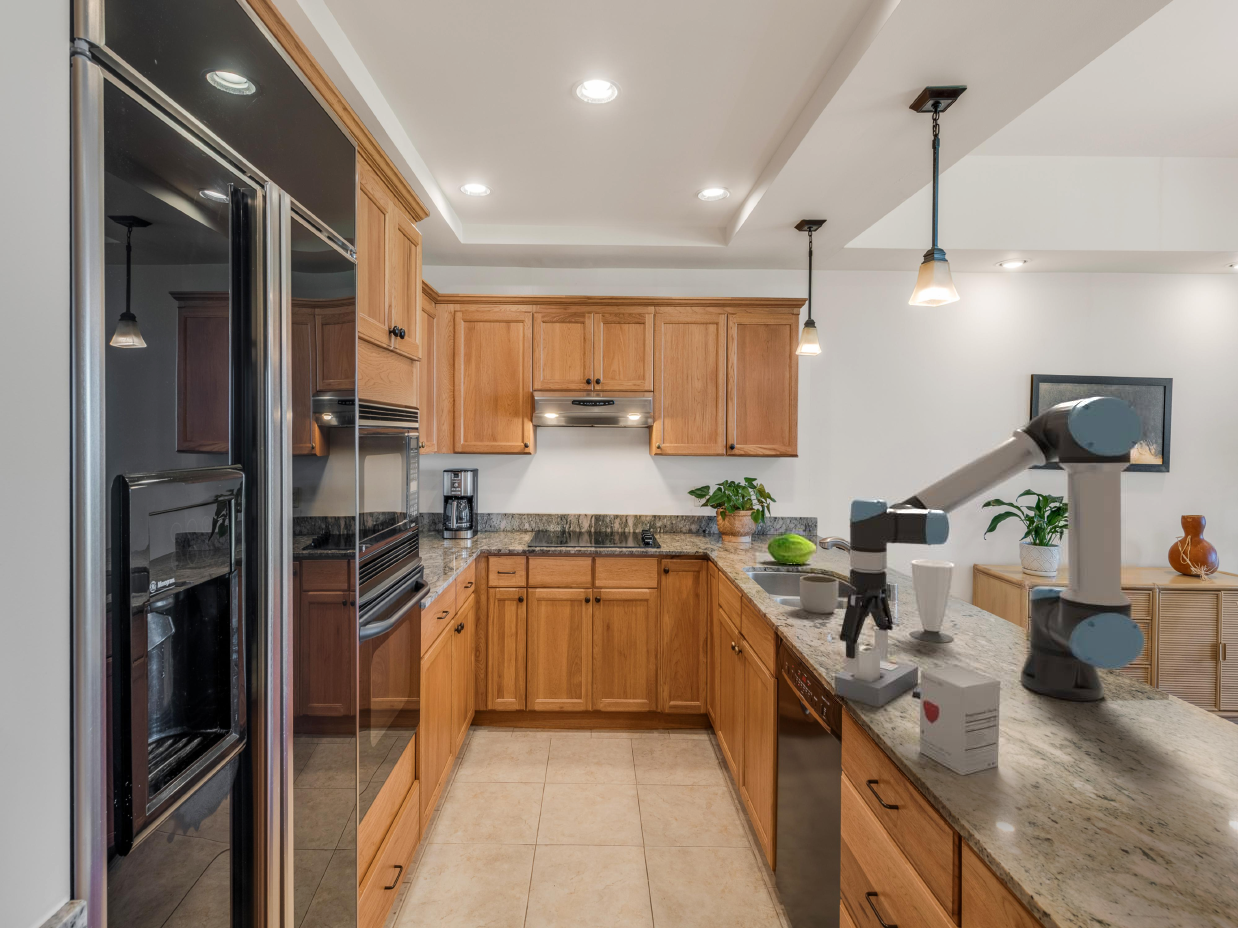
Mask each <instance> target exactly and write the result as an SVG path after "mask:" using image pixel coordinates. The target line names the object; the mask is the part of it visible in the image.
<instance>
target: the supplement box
mask: <svg viewBox="0 0 1238 928" xmlns="http://www.w3.org/2000/svg"><path fill="white" fill-rule="evenodd" d="M920 683H921V695H920V697H919V698H920V703H919V704H920V706H919V707H920V708H919V709H920V710H919V753H921V754H923V755H925V756H927V757H929V758H931V759H932V760H934V761H935V762H937V763H939V764H940V765H943V766H944V767H946V768H948V769H950V770H951V771H953V772H955V773H956V774H958V775H960V776H965V775H969V774H972V773H977V772H982V771H986V770H988V769H992V768H996V767H998V766H999V750H1000V749H999V744H1000V743H999V741H1000V739H999V738H1000V736H999V735H1000V701H1001V700H1000V697H1001V696H1000V694H1001V681H1000V680H998V679H995V678H993V677H991V676H987V675H985V674H982V673H980V672H978V671H975V670H972V669H969V668H967V667H964V666H962V665H960V664H957V663H954V664H950V665H949V664H948V665H942V666H939V667H929V668H923V669H921V670H920Z"/></svg>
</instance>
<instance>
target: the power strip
mask: <svg viewBox="0 0 1238 928" xmlns="http://www.w3.org/2000/svg"><path fill="white" fill-rule="evenodd" d="M918 683H919V666H918V665H913V664H911V663H907V662H903V661H898V660H896V659H895V660H894V659H890V658H888V659H887V660H885V659H881V658H880V680H878V681H876V682H874V683H872V682H869V681H865V680H862V679H858V678H854V673H851V672H847V671H845V670H843V671H841V672H840V673H837V674H836V675H834V691H833V692H834V695H837V696H840V697H844V698H846V699H850V700H853V701H857V702H859V703H863V704H867V705H869V706H873V707H876V708H881V707H882V706H885V705H886V704H888V703H889V702H891V701H892V700H894V699H895V698H897V697H898V696H900V695H902V694H903V693H905V692H907V691H908V690H910V689H912V688H913V687H916V686H917V685H918Z"/></svg>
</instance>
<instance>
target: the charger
mask: <svg viewBox="0 0 1238 928" xmlns="http://www.w3.org/2000/svg"><path fill="white" fill-rule="evenodd" d="M854 678H858V679H862V680H865V681H869V682H872V683H874V682H876V681H878V680H880V649H876V648H874V647H872V646H867V645H861V646H860V645H859V674H854Z"/></svg>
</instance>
